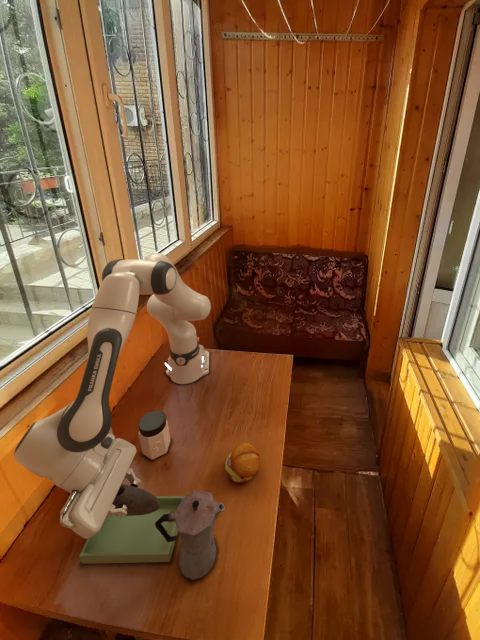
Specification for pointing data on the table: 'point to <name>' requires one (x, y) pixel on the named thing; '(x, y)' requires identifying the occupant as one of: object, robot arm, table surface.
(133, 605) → the table surface
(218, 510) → the moka pot
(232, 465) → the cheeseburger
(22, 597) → the table surface
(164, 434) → the jar
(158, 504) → the perforated stone tool
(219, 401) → the table surface
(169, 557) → the tray
